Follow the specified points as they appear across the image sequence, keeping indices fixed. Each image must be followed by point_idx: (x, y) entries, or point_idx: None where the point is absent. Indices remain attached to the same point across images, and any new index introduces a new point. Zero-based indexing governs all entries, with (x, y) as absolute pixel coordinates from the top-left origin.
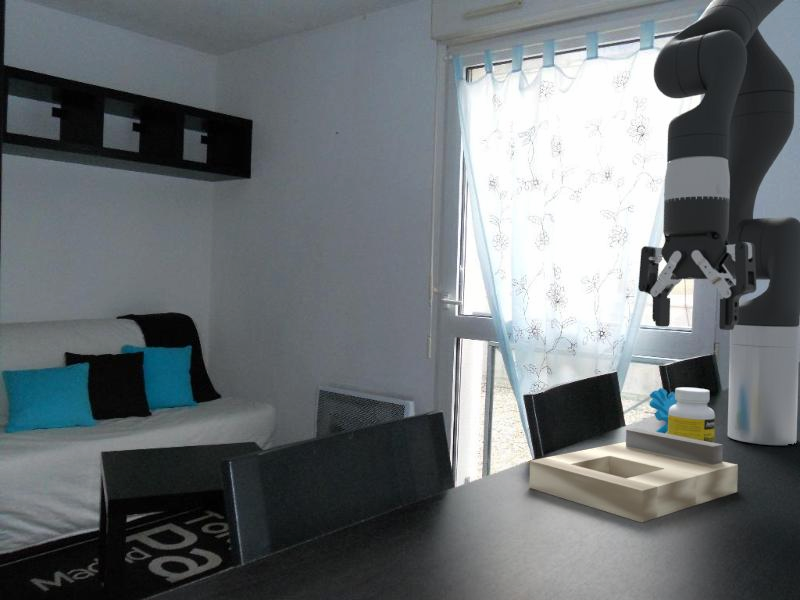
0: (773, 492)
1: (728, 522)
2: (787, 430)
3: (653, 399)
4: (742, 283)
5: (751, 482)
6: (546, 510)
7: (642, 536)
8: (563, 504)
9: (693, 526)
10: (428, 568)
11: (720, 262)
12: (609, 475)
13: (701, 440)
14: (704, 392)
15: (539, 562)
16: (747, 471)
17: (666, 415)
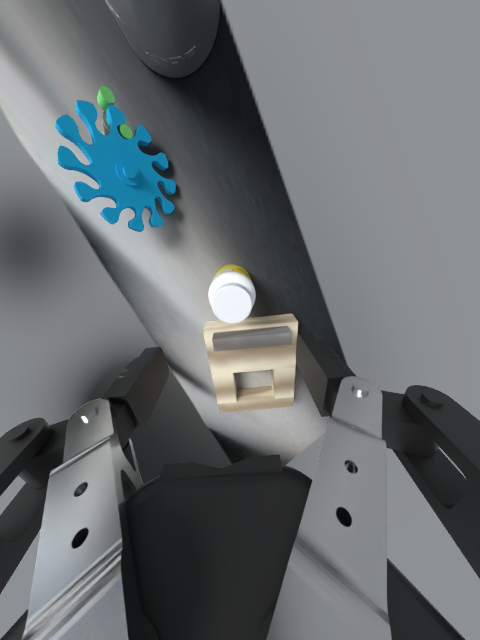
0: (308, 291)
1: None
2: None
3: (108, 218)
4: (423, 459)
5: (285, 280)
6: (252, 411)
7: (298, 403)
8: None
9: None
10: None
11: (390, 591)
12: (265, 401)
13: (273, 334)
14: (251, 308)
15: (290, 438)
16: (266, 248)
17: (138, 216)
